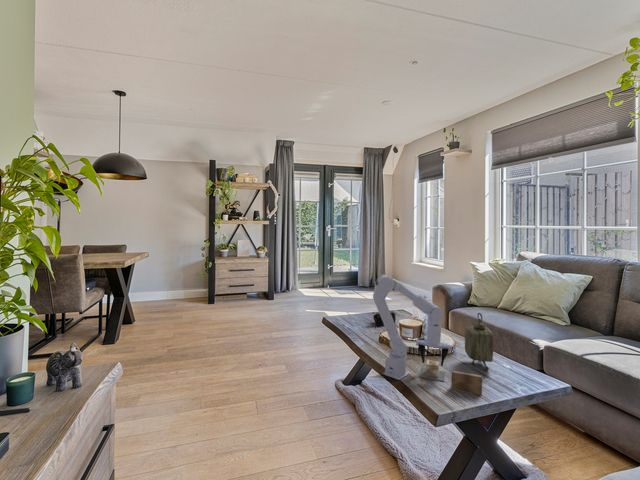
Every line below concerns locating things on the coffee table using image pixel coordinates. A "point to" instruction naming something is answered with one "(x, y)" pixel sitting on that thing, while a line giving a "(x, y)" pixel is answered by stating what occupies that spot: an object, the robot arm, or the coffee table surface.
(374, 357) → the coffee table surface
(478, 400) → the coffee table surface
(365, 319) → the coffee table surface
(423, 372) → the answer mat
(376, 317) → the film camera
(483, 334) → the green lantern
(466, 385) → the walnut screen
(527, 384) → the coffee table surface
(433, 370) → the letter block
